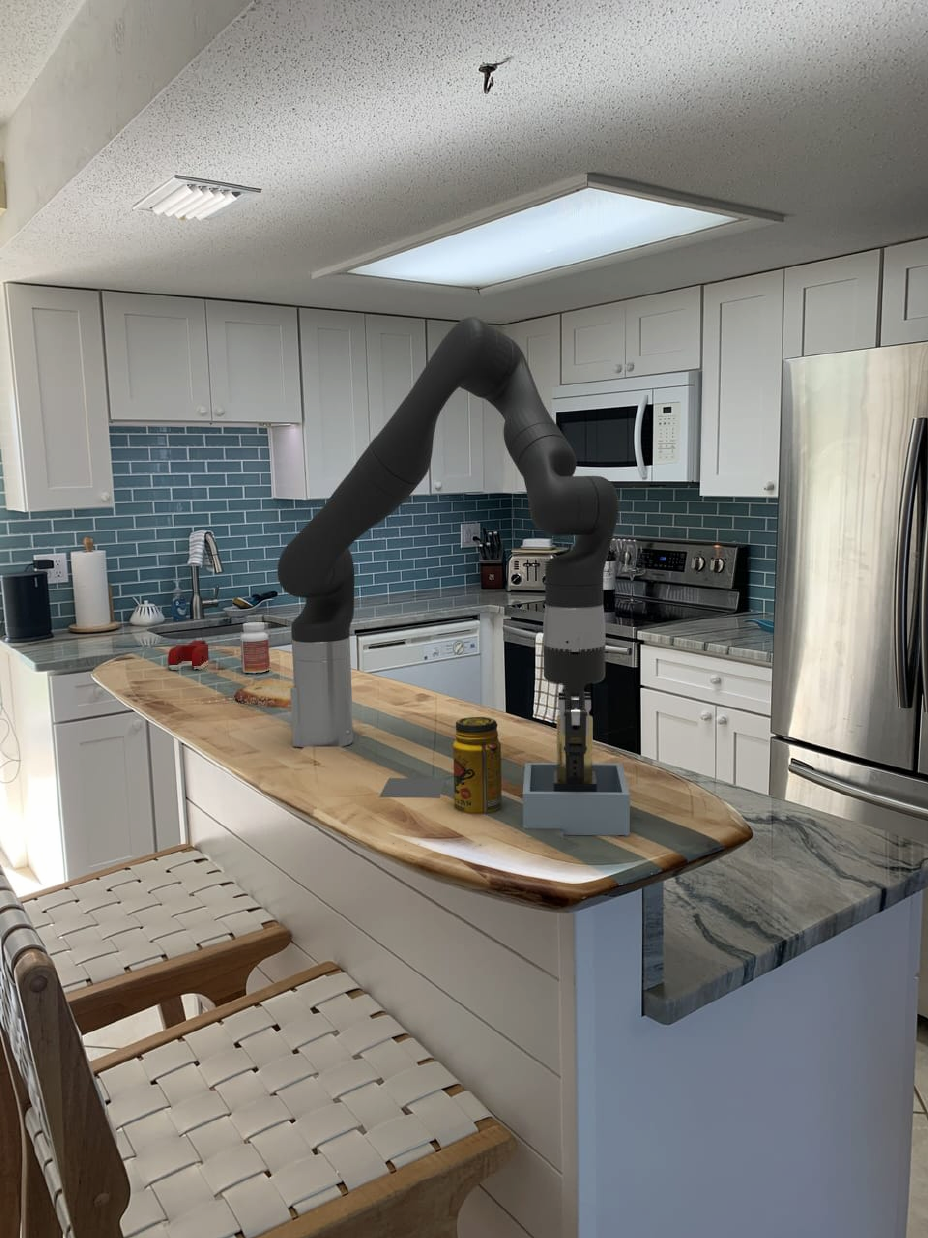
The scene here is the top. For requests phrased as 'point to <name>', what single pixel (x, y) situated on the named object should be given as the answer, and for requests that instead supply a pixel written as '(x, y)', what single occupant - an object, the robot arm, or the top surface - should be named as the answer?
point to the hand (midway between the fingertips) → (574, 776)
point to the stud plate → (413, 787)
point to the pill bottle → (254, 648)
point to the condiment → (477, 766)
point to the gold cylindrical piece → (560, 774)
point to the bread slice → (266, 693)
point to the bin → (577, 802)
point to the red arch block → (189, 653)
